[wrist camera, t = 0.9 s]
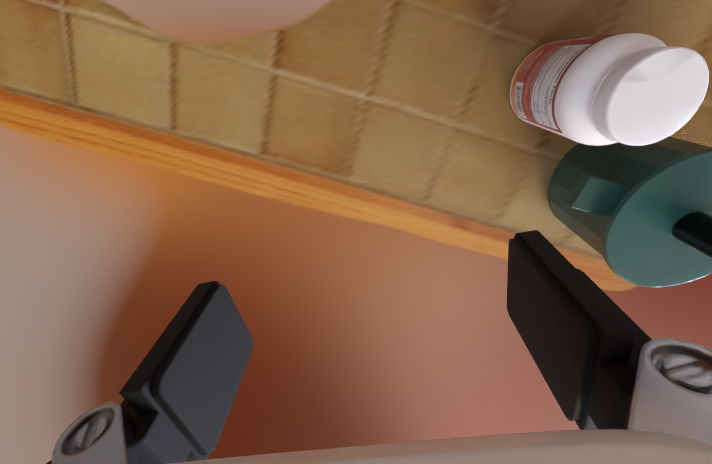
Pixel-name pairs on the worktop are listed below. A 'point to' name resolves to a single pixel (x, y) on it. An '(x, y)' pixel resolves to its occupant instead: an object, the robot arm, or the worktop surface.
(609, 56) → the pill bottle
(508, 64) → the worktop surface
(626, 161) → the pot
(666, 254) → the pot lid
